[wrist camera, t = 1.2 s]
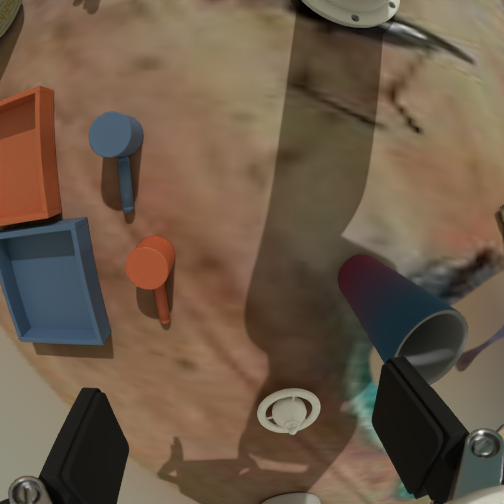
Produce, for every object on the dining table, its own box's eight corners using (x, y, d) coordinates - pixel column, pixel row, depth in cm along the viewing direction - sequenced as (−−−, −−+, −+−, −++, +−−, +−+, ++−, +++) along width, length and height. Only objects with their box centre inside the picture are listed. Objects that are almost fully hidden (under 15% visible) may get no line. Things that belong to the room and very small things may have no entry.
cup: (320, 296, 34) (374, 387, 19) (344, 237, 32) (423, 300, 18) (371, 310, 35) (437, 391, 20) (395, 256, 33) (481, 318, 19)
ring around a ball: (308, 422, 39) (324, 381, 37) (316, 452, 34) (335, 411, 32) (252, 420, 39) (262, 377, 36) (253, 452, 33) (265, 409, 31)
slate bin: (3, 228, 28) (-11, 235, 26) (87, 216, 29) (74, 223, 26) (30, 329, 32) (20, 341, 30) (111, 331, 33) (103, 345, 30)
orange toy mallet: (134, 237, 30) (121, 249, 26) (172, 234, 30) (165, 245, 27) (149, 321, 33) (141, 341, 29) (184, 319, 33) (180, 339, 29)
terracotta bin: (-22, 118, 24) (-37, 118, 21) (54, 89, 25) (39, 85, 22) (-13, 225, 28) (-28, 231, 25) (62, 212, 29) (48, 218, 26)
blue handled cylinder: (104, 120, 26) (87, 116, 23) (142, 113, 27) (130, 107, 23) (112, 213, 29) (97, 222, 25) (149, 209, 30) (139, 217, 26)
